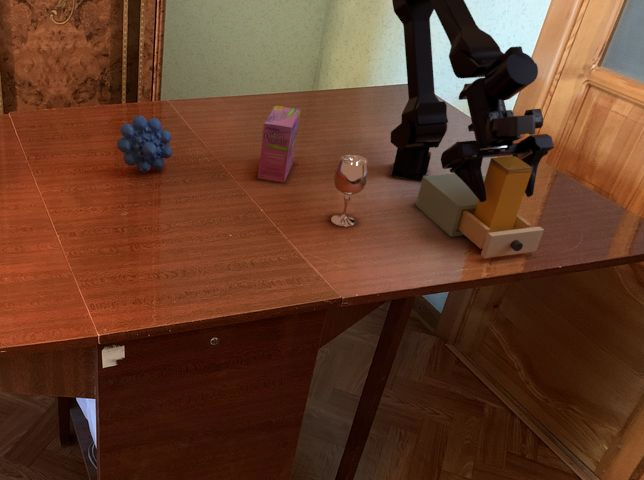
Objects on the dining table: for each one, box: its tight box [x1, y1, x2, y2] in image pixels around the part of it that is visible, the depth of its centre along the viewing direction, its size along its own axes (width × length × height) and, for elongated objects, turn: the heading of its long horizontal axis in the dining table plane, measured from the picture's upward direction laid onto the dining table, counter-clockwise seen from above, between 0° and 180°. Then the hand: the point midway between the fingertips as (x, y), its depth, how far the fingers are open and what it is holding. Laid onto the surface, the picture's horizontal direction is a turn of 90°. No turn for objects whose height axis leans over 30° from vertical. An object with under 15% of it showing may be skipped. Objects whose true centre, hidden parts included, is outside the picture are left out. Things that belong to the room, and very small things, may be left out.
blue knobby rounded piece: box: [116, 114, 173, 173], centre depth 151 cm, size 12×7×12 cm, turn 110°
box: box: [257, 105, 301, 184], centre depth 154 cm, size 10×6×12 cm, turn 163°
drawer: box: [457, 208, 545, 259], centre depth 133 cm, size 13×10×4 cm
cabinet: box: [415, 173, 486, 238], centre depth 141 cm, size 13×12×6 cm
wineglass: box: [330, 154, 369, 227], centre depth 137 cm, size 6×6×12 cm
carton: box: [474, 155, 533, 233], centre depth 131 cm, size 5×5×13 cm
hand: (507, 198), depth 130 cm, fingers open, 9 cm apart
